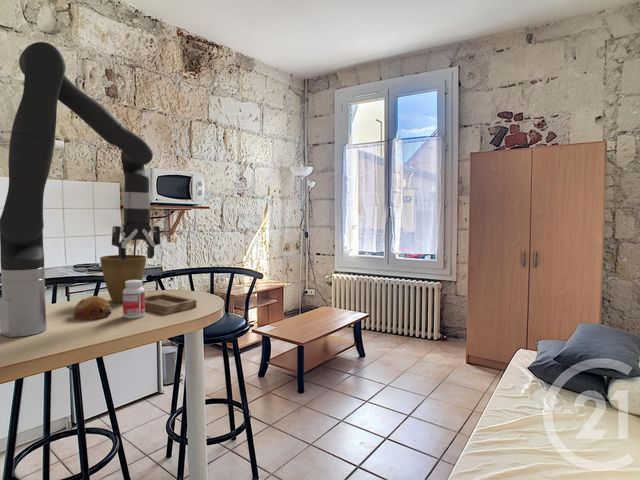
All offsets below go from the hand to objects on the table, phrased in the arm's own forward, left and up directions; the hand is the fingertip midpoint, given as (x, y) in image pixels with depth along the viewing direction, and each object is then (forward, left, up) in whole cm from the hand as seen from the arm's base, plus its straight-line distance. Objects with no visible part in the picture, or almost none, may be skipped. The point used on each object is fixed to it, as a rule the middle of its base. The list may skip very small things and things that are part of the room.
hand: (136, 259), depth 126 cm
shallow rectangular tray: (+11, +1, -17) cm, 20 cm away
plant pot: (+8, +20, -18) cm, 28 cm away
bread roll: (-9, +8, -18) cm, 22 cm away
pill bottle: (-2, -2, -18) cm, 18 cm away
